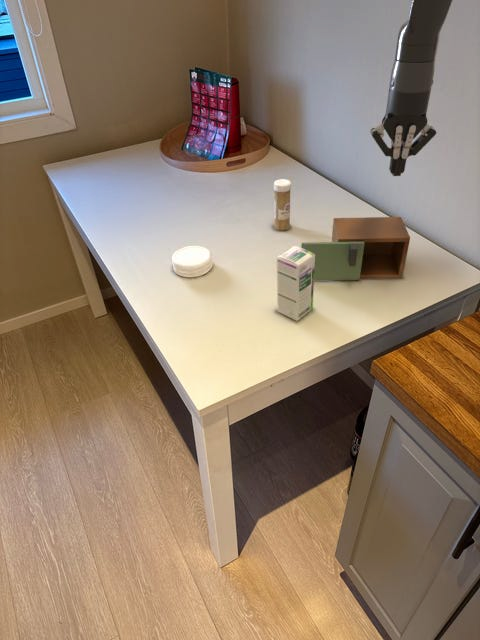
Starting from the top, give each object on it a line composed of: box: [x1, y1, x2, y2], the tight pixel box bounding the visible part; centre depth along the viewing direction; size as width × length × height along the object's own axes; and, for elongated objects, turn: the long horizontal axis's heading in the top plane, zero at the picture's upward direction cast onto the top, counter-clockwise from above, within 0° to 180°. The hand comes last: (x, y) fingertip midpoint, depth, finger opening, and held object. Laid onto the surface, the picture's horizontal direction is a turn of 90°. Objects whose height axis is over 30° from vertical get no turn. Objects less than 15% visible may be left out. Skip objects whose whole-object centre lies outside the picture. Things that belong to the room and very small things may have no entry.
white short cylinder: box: [171, 245, 213, 278], centre depth 122 cm, size 10×10×4 cm
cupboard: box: [331, 216, 411, 280], centre depth 116 cm, size 16×10×11 cm, turn 87°
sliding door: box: [300, 241, 364, 281], centre depth 111 cm, size 14×3×10 cm, turn 87°
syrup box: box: [276, 245, 315, 322], centre depth 103 cm, size 6×6×14 cm
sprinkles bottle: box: [273, 178, 292, 231], centre depth 133 cm, size 5×5×14 cm
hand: (395, 174), depth 101 cm, fingers closed
